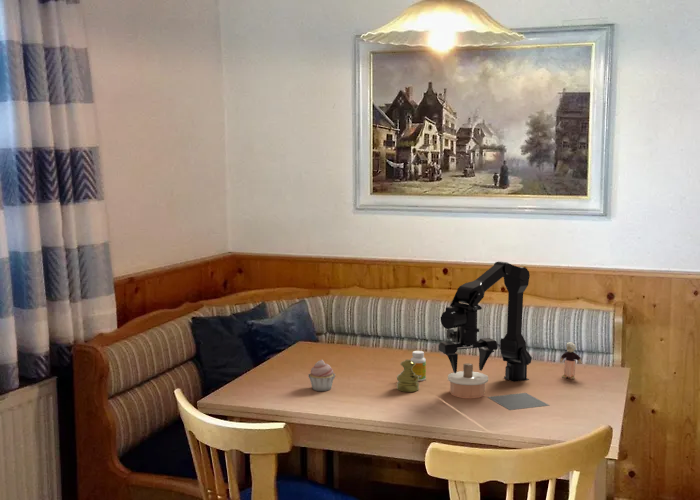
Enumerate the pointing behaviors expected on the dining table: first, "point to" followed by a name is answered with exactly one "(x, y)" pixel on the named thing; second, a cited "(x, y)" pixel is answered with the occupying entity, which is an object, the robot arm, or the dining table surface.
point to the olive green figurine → (408, 378)
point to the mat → (518, 401)
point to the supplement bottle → (419, 364)
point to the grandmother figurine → (570, 361)
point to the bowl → (467, 390)
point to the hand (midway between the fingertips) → (467, 371)
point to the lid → (468, 376)
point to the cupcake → (321, 376)
